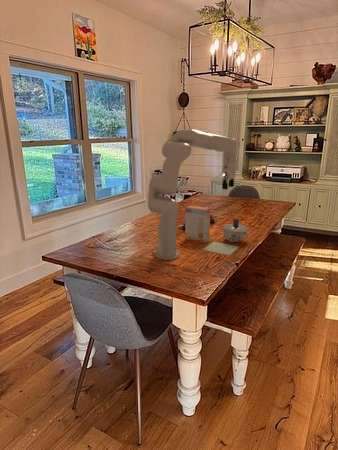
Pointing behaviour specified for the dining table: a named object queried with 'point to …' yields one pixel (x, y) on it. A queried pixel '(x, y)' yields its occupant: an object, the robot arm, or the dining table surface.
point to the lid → (235, 227)
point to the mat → (221, 248)
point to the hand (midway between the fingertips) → (228, 187)
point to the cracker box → (197, 224)
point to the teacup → (234, 236)
